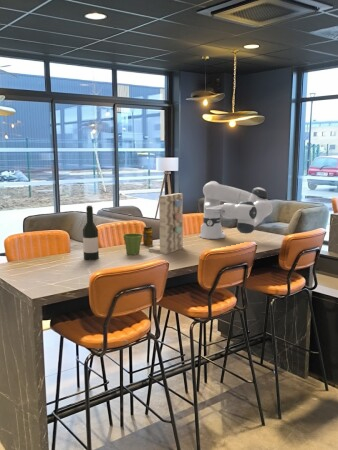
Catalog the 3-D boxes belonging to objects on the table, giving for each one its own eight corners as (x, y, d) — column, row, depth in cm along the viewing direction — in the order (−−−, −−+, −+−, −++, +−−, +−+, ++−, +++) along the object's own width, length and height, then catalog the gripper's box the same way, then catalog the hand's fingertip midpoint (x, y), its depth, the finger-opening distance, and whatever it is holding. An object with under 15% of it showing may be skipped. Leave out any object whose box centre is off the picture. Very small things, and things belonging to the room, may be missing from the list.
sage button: (173, 232, 266) (173, 225, 266) (181, 233, 263) (181, 226, 262) (169, 233, 263) (169, 226, 262) (177, 234, 260) (177, 227, 259)
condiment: (155, 245, 281) (155, 227, 279) (143, 247, 276) (143, 228, 274) (149, 243, 287) (149, 225, 285) (138, 245, 282) (137, 226, 280)
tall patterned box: (166, 245, 280) (166, 192, 274) (182, 247, 273) (182, 193, 268) (148, 251, 263) (147, 195, 258) (165, 254, 257) (165, 196, 251)
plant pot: (143, 255, 252) (142, 236, 251) (122, 256, 252) (122, 237, 250) (143, 251, 264) (142, 233, 262) (123, 251, 263) (123, 233, 262)
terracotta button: (173, 219, 265) (173, 212, 264) (181, 220, 262) (181, 212, 261) (169, 220, 261) (169, 213, 261) (177, 221, 258) (177, 213, 258)
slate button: (173, 206, 264) (173, 199, 263) (181, 206, 261) (181, 199, 260) (169, 207, 260) (169, 199, 259) (177, 207, 257) (177, 200, 256)
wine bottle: (80, 258, 246) (78, 205, 241) (92, 256, 252) (90, 204, 248) (90, 261, 241) (88, 207, 236) (101, 258, 247) (100, 205, 242)
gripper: (219, 218, 240) (197, 216, 247) (234, 214, 257) (213, 212, 264) (220, 207, 239) (197, 205, 246) (234, 203, 256) (213, 201, 263)
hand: (205, 208), depth 255 cm, fingers closed
